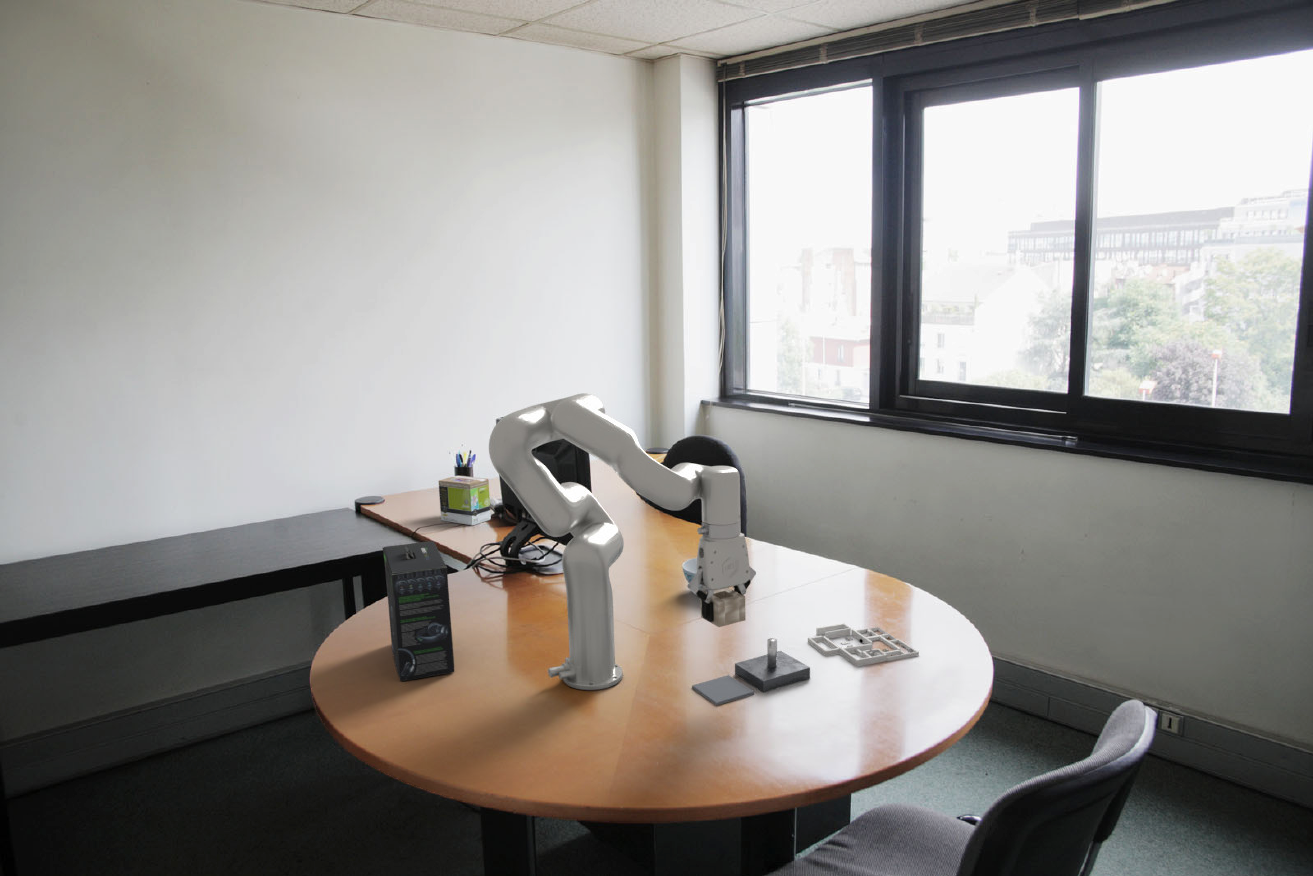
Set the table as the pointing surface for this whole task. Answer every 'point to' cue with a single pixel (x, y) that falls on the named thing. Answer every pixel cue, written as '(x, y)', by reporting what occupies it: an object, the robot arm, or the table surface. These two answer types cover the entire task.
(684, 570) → the chinaware
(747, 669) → the post stand
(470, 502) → the tea box
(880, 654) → the floor plan model
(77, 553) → the table surface
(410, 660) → the headset box
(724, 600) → the collar
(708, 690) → the mat
